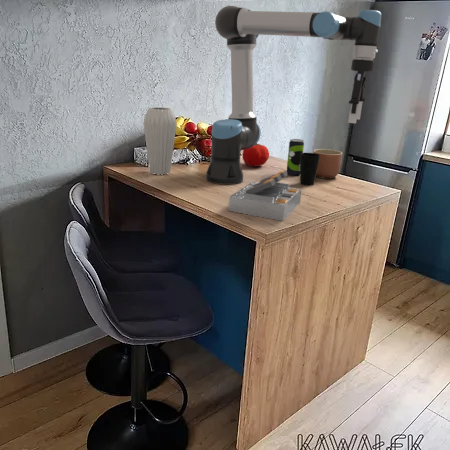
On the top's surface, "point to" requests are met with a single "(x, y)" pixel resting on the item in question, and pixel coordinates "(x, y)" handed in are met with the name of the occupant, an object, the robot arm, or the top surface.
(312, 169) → the cup
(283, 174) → the switch
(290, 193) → the switch unit
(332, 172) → the planter
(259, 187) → the switch
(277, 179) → the switch
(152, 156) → the vase
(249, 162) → the tomato
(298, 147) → the beverage can
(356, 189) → the top surface
